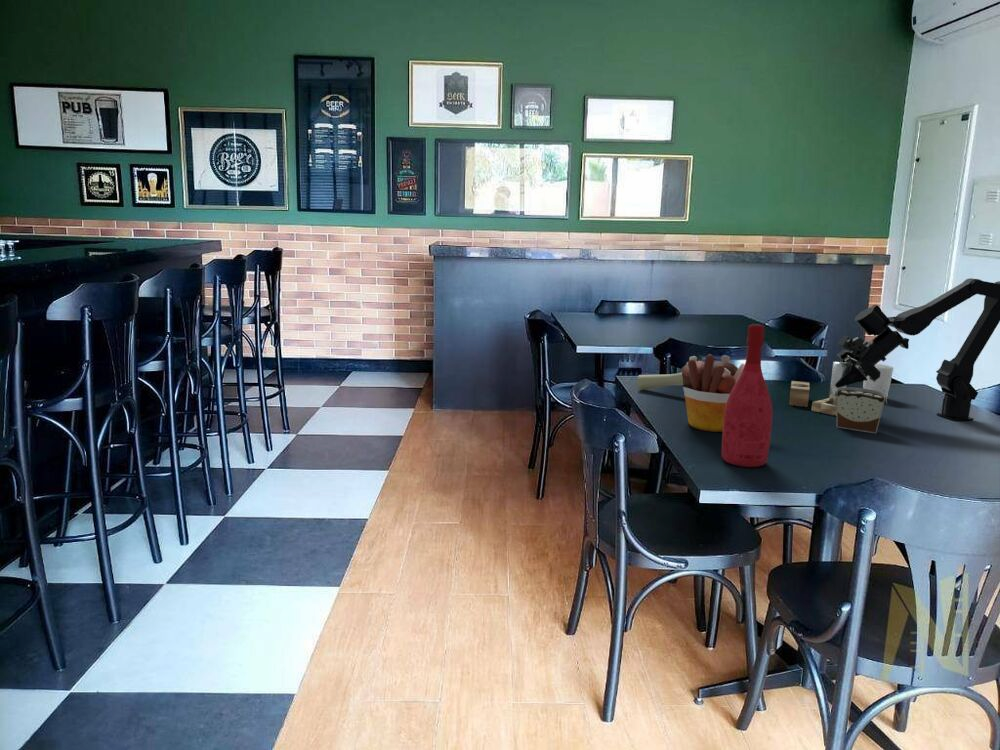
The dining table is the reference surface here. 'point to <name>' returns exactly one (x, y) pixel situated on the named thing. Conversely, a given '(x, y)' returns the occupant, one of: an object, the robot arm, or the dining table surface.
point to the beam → (799, 393)
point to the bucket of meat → (708, 390)
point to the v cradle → (824, 407)
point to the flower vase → (659, 380)
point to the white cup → (880, 380)
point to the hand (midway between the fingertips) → (833, 384)
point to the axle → (837, 379)
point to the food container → (859, 409)
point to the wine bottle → (748, 410)
